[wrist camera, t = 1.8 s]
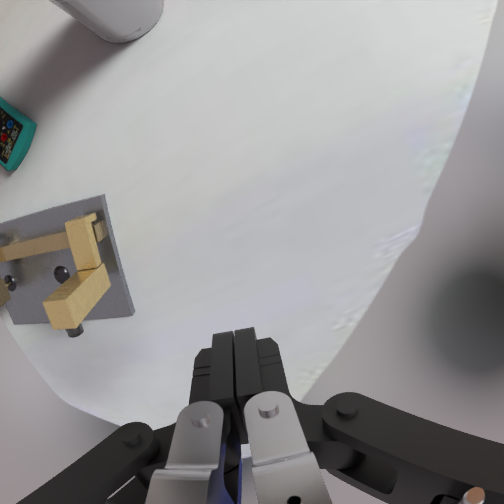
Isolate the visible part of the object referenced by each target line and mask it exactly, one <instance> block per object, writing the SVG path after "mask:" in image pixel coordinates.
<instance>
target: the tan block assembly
mask: <svg viewBox="0 0 504 504" xmlns="http://www.w3.org/2000/svg"><path fill="white" fill-rule="evenodd" d="M91 224H92V228H93V232H94V236H95V240H96V243H97V242H99V241H101V240H102V239H103V238H105V237H106V233H105V229H104V225H103V221H98V222H94V223H91ZM66 248H71V247H70V243H69V240H68V236H67V232H66V229H62V230H58V231H54V232H50V233H46V234H42V235H37V236H33V237H29V238H26V239H22V240H18V241H14V242H10V243H6V244H3V245H0V262H4V261H9V260H13V259H18V258H23V257H27V256H32V255H37V254H41V253H46V252H51V251H56V250H61V249H66ZM11 286H12V283H11V281H8V282H6V283H5V280H4V279H1V276H0V307H1V306H2V305H3V304H5V303H6V302H7V301H8V300H9V299H11V297H10V294H9V291H8V288H9V287H11Z"/></svg>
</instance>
